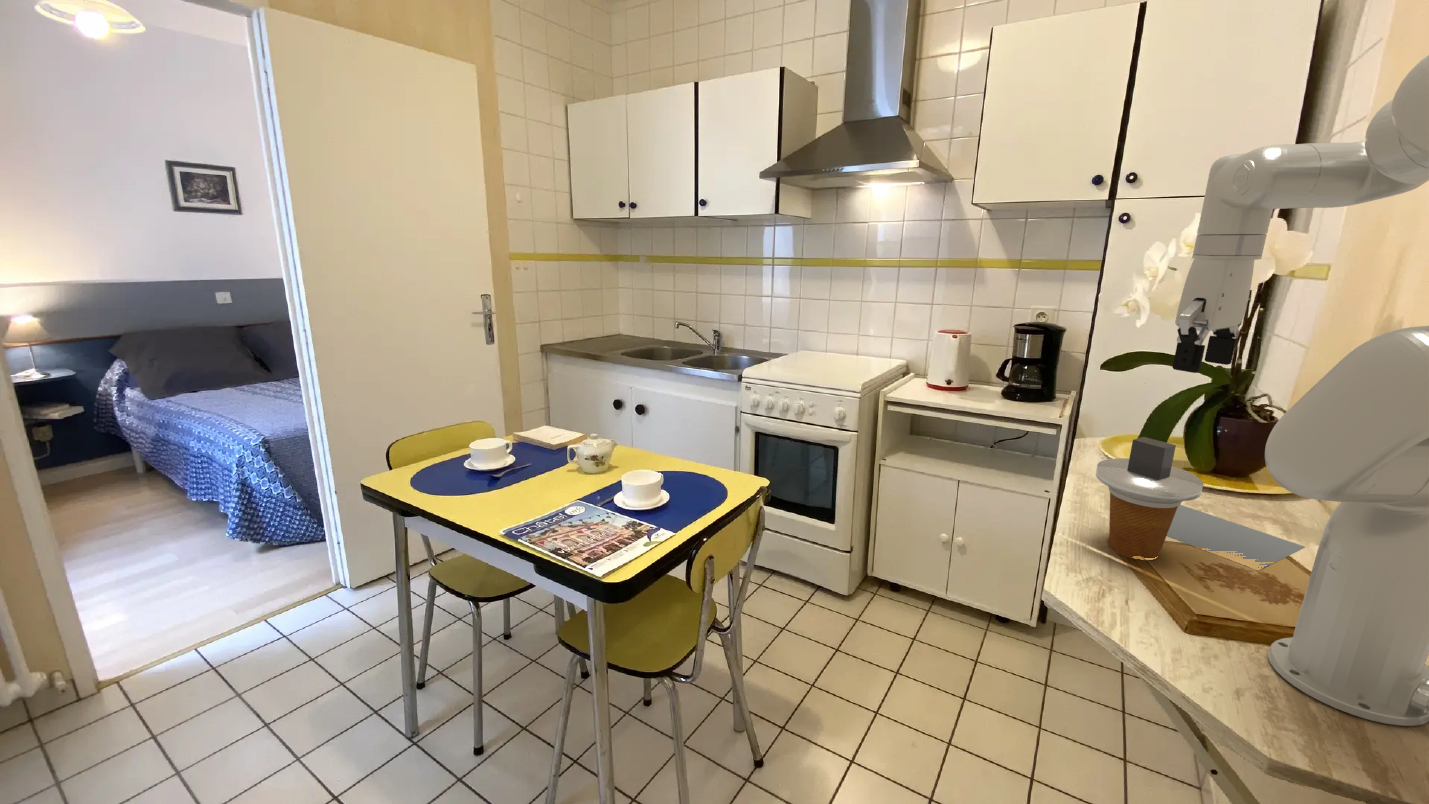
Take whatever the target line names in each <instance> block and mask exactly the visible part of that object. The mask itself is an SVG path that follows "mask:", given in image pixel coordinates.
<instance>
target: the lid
mask: <svg viewBox="0 0 1429 804" xmlns="http://www.w3.org/2000/svg"><path fill="white" fill-rule="evenodd" d="M1176 447H1177V446H1176V444H1172V443H1169V442H1165V441H1161V440H1157V439H1155V438H1154V439H1153V438H1150V437H1146V436H1142V437H1138V438H1134V439H1132V443H1131V449H1130V454H1129V458H1121V457H1120V458H1117V457H1116V458H1108V459H1103V460H1101V461H1099V462H1098V463H1097V464H1096V471H1095V477H1096V479H1097V480H1098V481H1100V483H1102V484H1104V485H1105V486H1107V487H1108V486H1109V487H1111V488H1113V489H1116V490H1119V491H1121V492H1125V493H1128V494H1131V495H1135V496H1139V497H1144V498H1149V499H1155V500H1164V501H1183V502H1188V501H1191V500H1192V501H1194V500H1196V499H1198V498H1200V497H1201V495H1202V491H1203V488H1204V482H1203V481H1202V479H1201V478H1200V477H1199V476H1197V475H1195V474H1194V473H1192V472H1190V471H1188V470H1184V469H1182V468H1179V467H1176V466H1173V460H1174V457H1175V451H1176Z"/></svg>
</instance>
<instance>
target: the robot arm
mask: <svg viewBox="0 0 1429 804" xmlns="http://www.w3.org/2000/svg"><path fill="white" fill-rule="evenodd" d="M1428 181H1429V54H1428V55H1427V56H1425V57H1424V58H1422V59H1421V60H1420V61H1419V62H1418V63H1416V65H1415V66H1413V68H1411V70H1410V71H1409V72H1408V73H1407V74H1406V76H1405V77H1404V78H1403V79H1402V81H1401V82H1400V84H1399V86H1398V88H1397V90H1396V91H1395V94H1394V95H1393V99H1391V100H1389V101H1388V102H1387V103H1385V104H1384V105H1383V106H1382V107H1381V108H1380V109H1379V110H1378V111H1376V113H1375V115H1373V117H1372V119H1371V120H1370V122H1369V123H1368V126H1367V128H1366V131H1365V136H1364V140H1361V141H1355V142H1352V141H1351V142H1318V143H1317V142H1316V143H1314V142H1312V143H1310V142H1309V143H1298V144H1297V143H1294V144H1293V143H1292V144H1290V143H1289V144H1287V143H1286V144H1273V145H1266V146H1265V145H1264V146H1261V147H1258V148H1255V149H1253V150H1251V151H1248V152H1245V153H1244V152H1243V153H1236V154H1228V155H1224V156H1222V157H1219V158H1218V159H1216V160H1215V161H1214V162H1213V163H1212V165H1211V167H1210V169H1209V174H1208V179H1207V181H1206V182H1207V183H1206V188H1205V192H1204V196H1203V197H1204V199H1203V203H1202V208H1201V213H1200V218H1199V223H1198V229H1197V232H1196V233H1197V234H1196V238H1195V242H1194V247H1193V250H1192V251H1193V252H1192V255H1191V259H1193V261H1192V263H1191V265H1190V268H1189V270H1188V274H1187V276H1186V279H1185V282H1184V285H1183V287H1182V288H1183V289H1182V292H1181V296H1180V300H1179V305H1178V308H1177V312H1176V316H1175V325H1176V327H1178V328H1177V334H1178V336H1177V338H1176V348H1175V352H1174V356H1173V357H1174V358H1173V363H1172V369H1173V370H1175V371H1182V372H1187V373H1193V374H1197V373H1199V372H1200V371H1201V367H1202V362H1203V358H1204V361H1205V362H1206V363H1211V364H1219V365H1227V366H1228V365H1230V364H1232V361H1233V357H1234V353H1235V349H1236V344H1237V341H1238V340H1237V339H1238V337H1239V334H1240V329H1239V328H1240V326H1241V325H1242V323H1243V320H1244V317H1245V314H1246V311H1247V308H1248V307H1247V306H1248V302H1249V298H1250V293H1251V288H1252V281H1253V277H1254V267H1255V261H1257V260H1258V261H1259V260H1262V257H1263V253H1264V249H1265V248H1264V247H1265V245H1266V244H1265V243H1266V240H1267V236H1268V235H1267V234H1268V232H1269V226H1270V225H1271V224H1270V223H1271V219H1272V215H1273V211H1274V209H1275V210H1281V209H1315V208H1319V209H1320V208H1321V209H1328V208H1342V207H1350V206H1354V205H1360V204H1364V203H1368V202H1373V201H1376V200H1382V199H1385V198H1390V197H1394V196H1398V195H1402V194H1405V193H1408V192H1411V191H1413V190H1415V189H1417V188H1420V187H1422V185H1425V183H1426V182H1428ZM1211 331H1212V335H1209V333H1210V332H1211ZM1198 332H1199V333H1198ZM1208 335H1209V338H1208V341H1207V347H1206V345H1205V344H1203V343H1204V341H1205V340H1206V338H1207V336H1208ZM1205 349H1206V351H1205ZM1204 354H1205V355H1204ZM1264 460H1265V466H1266V468H1267V471H1268V473H1269V475H1270V476H1271V477H1272V479H1273V480H1274V481H1275V482H1276V483H1277V484H1278V485H1279V486H1280V487H1282V488H1283V489H1284V490H1286V491H1287V492H1289V493H1292V494H1295V495H1296V496H1299V497H1302V498H1306V499H1310V500H1317V501H1322V502H1323V501H1325V502H1337V503H1338V502H1339V504H1338V505H1337V506H1336V507H1335V509H1334V510H1333V512H1332V513H1331V515H1330V516H1329V518H1328V520H1327V522H1326V524H1325V527H1324V528H1323V532H1322V534H1321V535H1322V536H1321V539H1320V541H1319V545H1318V548H1317V551H1316V555H1315V557H1314V561H1313V566H1312V569H1311V573H1310V575H1309V579H1308V582H1307V586H1306V589H1305V592H1304V596H1303V601H1302V604H1301V607H1300V610H1299V614H1298V617H1297V620H1296V624H1295V627H1294V628H1295V629H1294V631H1293V635H1292V636H1291V637H1283V638H1280V639H1277V640H1274V642H1272V643H1271V644H1270V647H1269V649H1268V650H1269V651H1268V653H1267V654H1268V660H1269V663H1270V664H1271V666H1272V667H1273V669H1274V670H1275V672H1277V673H1278V674H1279V675H1280V676H1281V677H1282V678H1283V679H1284V680H1285V681H1287V682H1288V683H1290V684H1291V685H1292V686H1293V687H1295V688H1296V689H1298V690H1300V691H1301V692H1303V693H1304V694H1306V695H1308V696H1310V697H1311V698H1313V699H1315V700H1317V701H1319V702H1321V703H1323V704H1326V705H1328V706H1330V707H1332V708H1334V709H1335V710H1336V709H1337V710H1338V711H1341V712H1343V713H1344V712H1345V713H1347V714H1349V715H1352V716H1355V717H1359V718H1362V719H1365V720H1368V721H1372V722H1376V723H1381V724H1384V725H1385V724H1386V725H1393V726H1403V727H1404V726H1407V727H1413V726H1419V725H1420V726H1421V725H1424V724H1426V723H1428V722H1429V665H1428V664H1426V662H1427V659H1428V656H1429V325H1421V326H1420V325H1418V326H1409V327H1404V328H1399V329H1395V330H1391V331H1388V332H1385V333H1382V334H1380V335H1376V336H1375V337H1373V338H1371V339H1369V340H1367V341H1365V342H1363V343H1362V344H1360V345H1358V346H1357V347H1355V348H1354V349H1353V350H1350V352H1349V353H1348V354H1346V356H1344V357H1342V359H1341V360H1340V361H1338V362H1337V364H1335V365H1334V366H1333V367H1332V368H1331V369H1330V370H1329V371H1328V372H1327V373H1326V374H1324V376H1323V377H1322V378H1321V379H1319V380H1318V381H1317V382H1316V384H1315V385H1313V386H1312V387H1311V388H1310V389H1309V390H1308V391H1307V392H1305V393H1304V395H1303V396H1302V397H1300V398H1299V399H1298V401H1296V402H1295V403H1294V404H1293V405H1292V406H1291V407H1290V408H1288V410H1287V411H1286V412H1285V413H1284V414H1283V415H1282V416H1281V417H1280V418H1279V419H1278V421H1277V422H1276V424H1274V426H1273V427H1272V430H1270V433H1269V435H1268V437H1267V440H1266V443H1265V448H1264Z"/></svg>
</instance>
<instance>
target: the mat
mask: <svg viewBox="0 0 1429 804" xmlns="http://www.w3.org/2000/svg"><path fill="white" fill-rule="evenodd" d="M1166 538H1170V539H1173V540H1176V541H1178V542H1180V543H1183V544H1185V545H1188V546H1191V545H1192V547H1194V546H1198V547H1199V546H1200V547H1199V548H1205V549H1206V548H1208V549H1211V550H1208V551H1237V552H1235V553H1243V555H1242V554H1240V556H1246V557H1243V559H1256V560H1255V562H1261V563H1262V562H1276V563H1277V562H1279V561H1282V560H1283V559H1285V558H1286V557H1289V556H1291V555H1293V554H1295V553H1297V552H1298V551H1300V550H1302V549H1304V548H1306V546H1305V545H1302V544H1300V543H1296V542H1293V541H1290V540H1287V539H1284V538H1282V537H1281V538H1280V537H1278V536H1275V535H1272V534H1269V533H1265V532H1263V531H1260V530H1256V529H1254V528H1251V527H1248V526H1245V525H1243V524H1240V523H1236V522H1233V521H1230V520H1227V519H1225V518H1222V517H1218V516H1215V515H1213V514H1210V513H1206V512H1203V511H1200V510H1197V509H1194V508H1191V507H1188V506H1185V505H1184V504H1183V505H1182V504H1180V505H1179V506H1178V508H1177V510H1176V513H1175V515H1174V518H1173V520H1172V523H1171V526H1170V528H1169V531H1168V533H1167V536H1166ZM1193 545H1194V546H1193ZM1199 548H1198V549H1199ZM1204 552H1207V550H1205V551H1204ZM1217 553H1218V552H1217ZM1227 553H1228V552H1227ZM1229 553H1231V552H1229ZM1232 553H1233V552H1232ZM1235 556H1236V555H1235ZM1237 556H1239V554H1238V555H1237ZM1241 558H1242V557H1241ZM1257 559H1258V560H1257ZM1271 564H1272V565H1274V564H1273V563H1269V564H1268V563H1266V564H1259V565H1270V566H1272V565H1271ZM1264 567H1265V566H1264ZM1258 568H1259V567H1258ZM1261 568H1262V567H1261Z"/></svg>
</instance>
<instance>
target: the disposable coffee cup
mask: <svg viewBox="0 0 1429 804" xmlns="http://www.w3.org/2000/svg"><path fill="white" fill-rule="evenodd" d="M1107 487H1108V491H1109V531H1108V532H1109V533H1108V546H1109V549H1110V550H1112V551H1113V552H1114V553H1116V554H1118V555H1120V556H1123V557H1124V558H1129V559H1131V557H1133V556H1141V557H1144V558H1155V557H1157V556H1158V557H1159V556H1160V554H1161V551H1162V548H1163V545H1164V543H1165V541H1166V539H1167V533H1168V531H1169V528H1170V526H1171V523H1172V520H1173V518H1174V515H1175V513H1176V510H1177V508H1178V506H1179V505H1182V502H1184V501H1164V500H1155V499H1149V498H1144V497H1139V496H1135V495H1131V494H1128V493H1125V492H1121V491H1119V490H1116V489H1113V488H1111V487H1109V486H1107Z"/></svg>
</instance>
